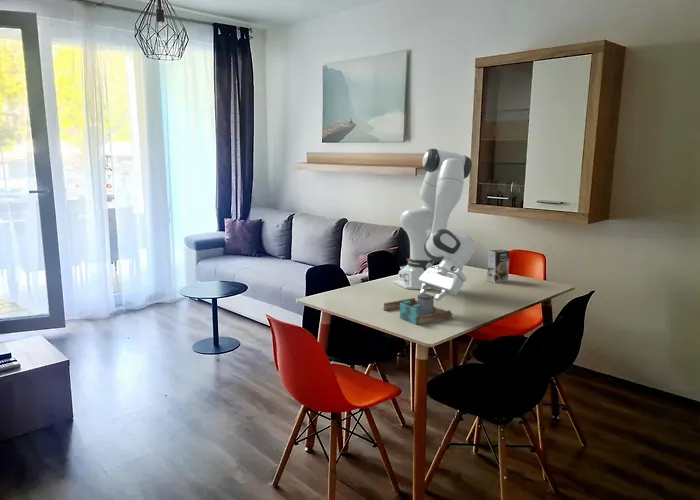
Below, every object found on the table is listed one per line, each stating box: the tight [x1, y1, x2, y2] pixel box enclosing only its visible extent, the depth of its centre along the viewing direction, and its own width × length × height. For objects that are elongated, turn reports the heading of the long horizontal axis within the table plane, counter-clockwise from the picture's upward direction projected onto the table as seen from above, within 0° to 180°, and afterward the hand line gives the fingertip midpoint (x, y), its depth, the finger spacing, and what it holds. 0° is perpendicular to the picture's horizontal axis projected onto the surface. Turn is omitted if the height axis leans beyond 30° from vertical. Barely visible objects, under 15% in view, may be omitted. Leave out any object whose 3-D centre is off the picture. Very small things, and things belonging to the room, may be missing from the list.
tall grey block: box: [417, 293, 435, 317], centre depth 207 cm, size 4×4×9 cm
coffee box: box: [486, 249, 511, 284], centre depth 269 cm, size 9×6×16 cm
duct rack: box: [383, 297, 453, 326], centre depth 211 cm, size 23×18×7 cm
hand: (428, 296), depth 207 cm, fingers open, 8 cm apart
